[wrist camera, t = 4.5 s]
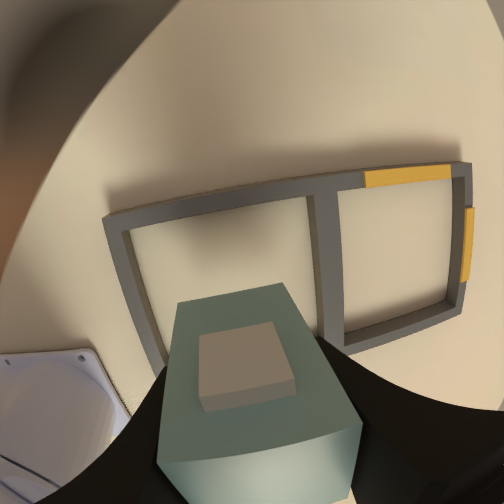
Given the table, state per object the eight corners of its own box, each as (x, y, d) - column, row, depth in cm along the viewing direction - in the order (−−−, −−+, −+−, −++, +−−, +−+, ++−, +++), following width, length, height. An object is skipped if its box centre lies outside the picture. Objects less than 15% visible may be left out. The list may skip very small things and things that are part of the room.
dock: (164, 380, 17) (162, 395, 16) (109, 213, 14) (100, 219, 13) (451, 306, 19) (462, 314, 18) (459, 161, 16) (473, 163, 14)
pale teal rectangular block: (202, 380, 12) (209, 525, 6) (174, 290, 11) (147, 449, 4) (292, 363, 13) (347, 497, 6) (281, 270, 11) (365, 406, 5)
